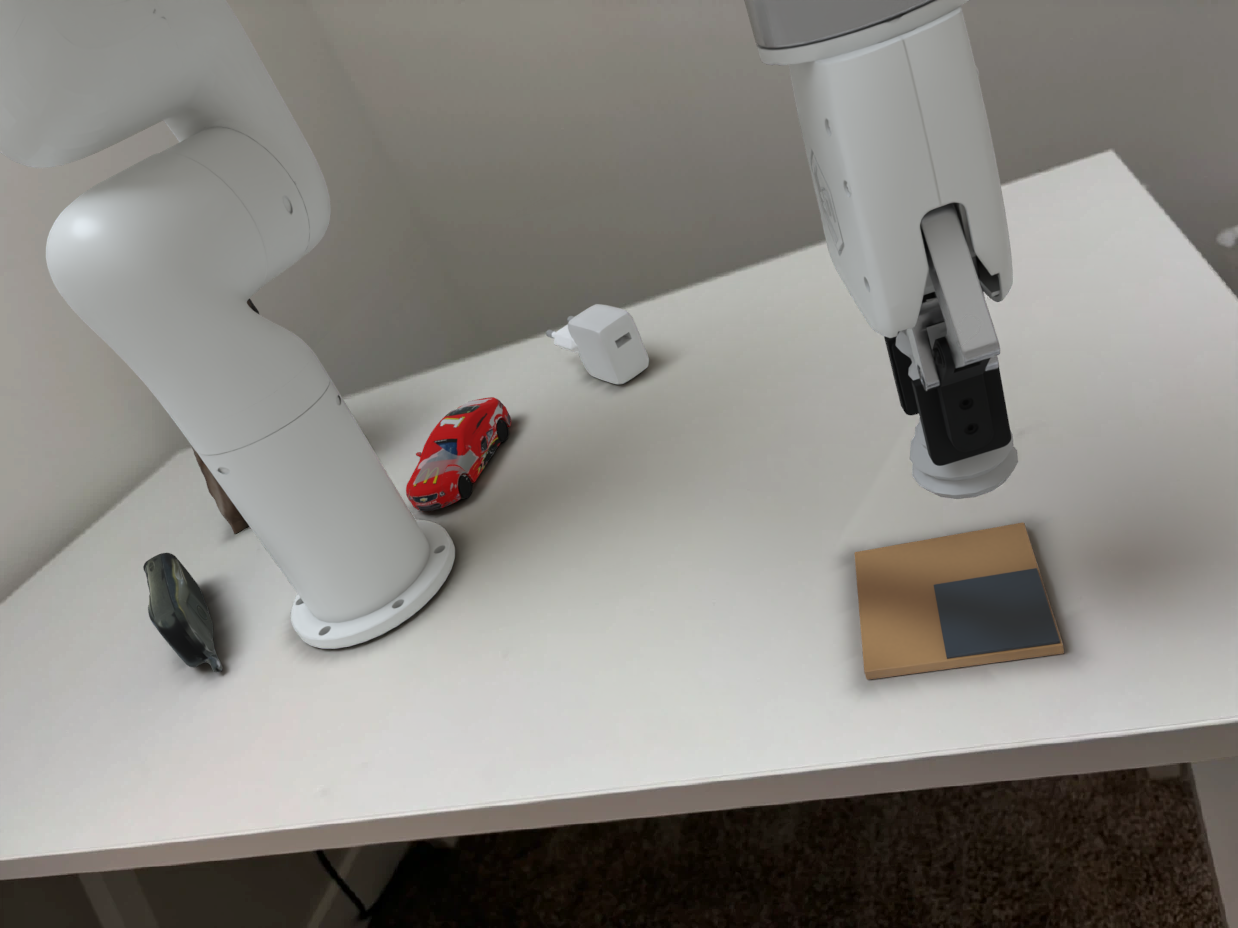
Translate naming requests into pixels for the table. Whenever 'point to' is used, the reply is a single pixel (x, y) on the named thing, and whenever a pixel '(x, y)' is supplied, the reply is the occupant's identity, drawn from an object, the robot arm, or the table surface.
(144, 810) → the table surface
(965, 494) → the rook chess piece
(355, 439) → the robot arm
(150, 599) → the dark green oblong piece
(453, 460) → the race car
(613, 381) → the power adapter
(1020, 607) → the cork mat
